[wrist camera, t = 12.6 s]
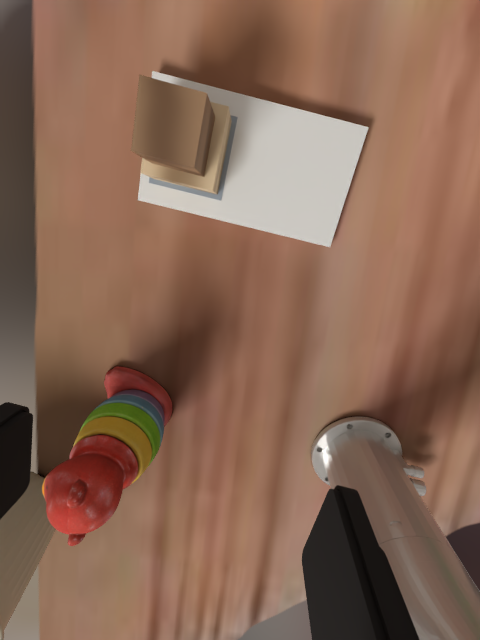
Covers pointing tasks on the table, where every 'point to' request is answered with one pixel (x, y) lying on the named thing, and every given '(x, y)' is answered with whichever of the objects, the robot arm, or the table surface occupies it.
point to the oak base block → (213, 162)
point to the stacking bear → (107, 453)
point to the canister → (22, 546)
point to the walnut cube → (172, 126)
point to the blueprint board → (272, 169)
